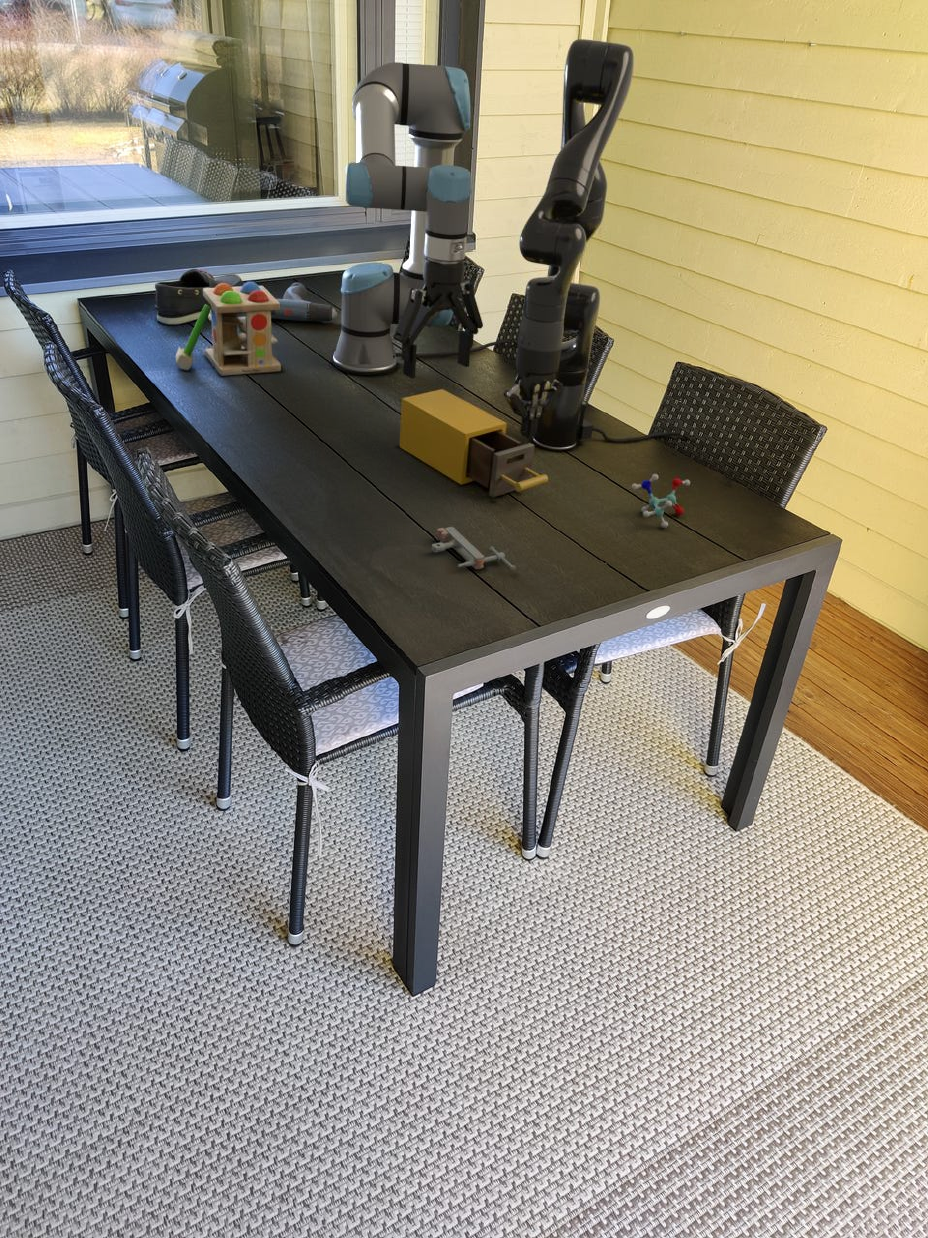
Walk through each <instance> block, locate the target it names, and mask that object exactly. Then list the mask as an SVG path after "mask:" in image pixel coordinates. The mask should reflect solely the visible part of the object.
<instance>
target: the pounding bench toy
mask: <svg viewBox="0 0 928 1238" xmlns="http://www.w3.org/2000/svg"><path fill="white" fill-rule="evenodd" d="M203 296H204V297H205V299H206V300H207V301H208V302H209V304H210V305H211V307H210V306H208V305H204V307H203V309H202V311H201V314H200V316H199V318H198V319H196V322H195V324H194V327H193V329H192V331H191V332H190V333H191V334H190V336H189V338H188V340H187V343H186V344H185V347H184V348H182V347H180V346H179V347H178V349H177V351H176V354H175V357H174V358H175V362H176V365H177V366H178V368H179V369H182V370H185V371H189V370H190V369H191V367H192V365H193V363H194V356H193V351H194V348H195V347H196V345H197V342H198V340H199V337H200V336H201V333H202V332H203V329H204V326H205V325H206V322H207V320H209V321H210V322H211V336H212V337H211V338H212V339H211V340H212V348H205V349H204V352H205V353H204V355H205V357H206V359H208V361H209V363H210V364H211V365H212V366H213V367H214V369H215V370H216V371H217V372H218V374H219V375H220V376H222V377H223V376H234V375H235V376H236V375H246V374H247V375H250V374H262V373H275V372H281V370H282V364H281V363H280V362H279V360H278V359H277V358H276V357H275V356H274V355H273V348H272V347H273V345H272V344H276V343H278V342H279V341H278V339H277V338H276V337H275V336H274V334H272V318H271V310H280V303H279V302H278V301H277V300H276V299H277V298H276V297H274V296H273V295H272V294H271V293H270V292H269V290H268V289H267V288H266V287H264V285H259V284H257V283H256V282H255V281H247V282H245V283H244V285H243V286H242V287H231V286H230V285H228V284H226V283H221V284H218V285H217V286H216V287H215V288H204V289H203ZM210 310H211V313H209V312H210ZM238 313H244V314H245V315H244V316H238ZM238 329H239V331H240V333H239V334H238Z"/></svg>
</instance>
